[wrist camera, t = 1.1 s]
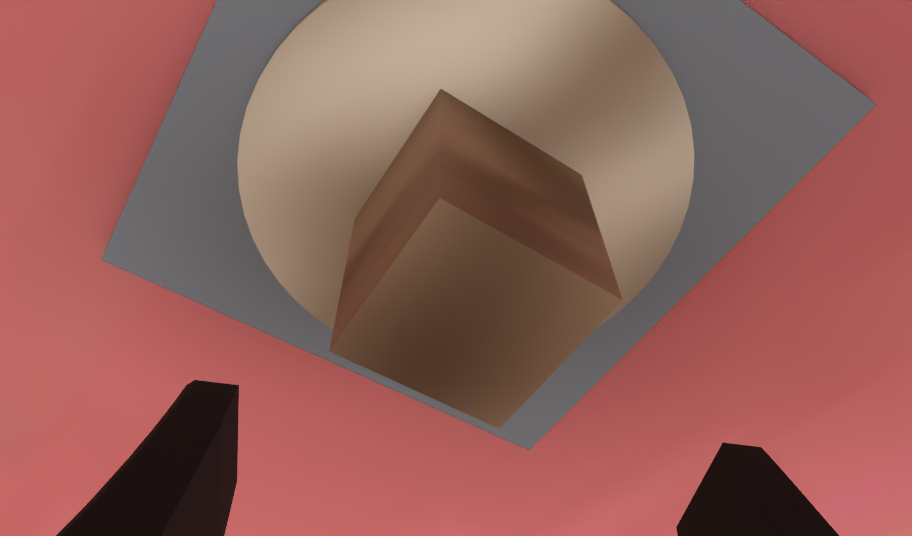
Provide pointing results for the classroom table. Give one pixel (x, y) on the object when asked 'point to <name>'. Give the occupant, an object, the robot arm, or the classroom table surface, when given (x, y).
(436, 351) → the lid
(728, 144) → the mat
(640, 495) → the classroom table surface
